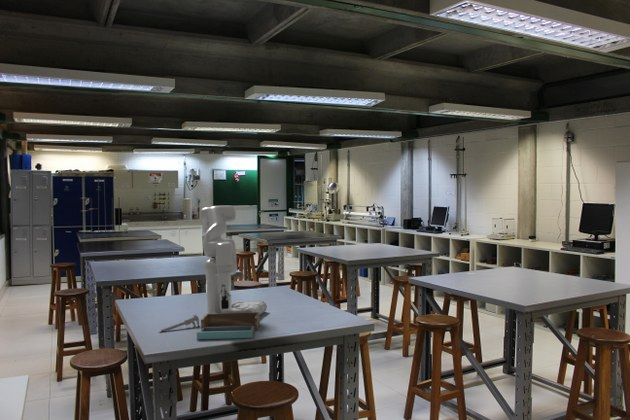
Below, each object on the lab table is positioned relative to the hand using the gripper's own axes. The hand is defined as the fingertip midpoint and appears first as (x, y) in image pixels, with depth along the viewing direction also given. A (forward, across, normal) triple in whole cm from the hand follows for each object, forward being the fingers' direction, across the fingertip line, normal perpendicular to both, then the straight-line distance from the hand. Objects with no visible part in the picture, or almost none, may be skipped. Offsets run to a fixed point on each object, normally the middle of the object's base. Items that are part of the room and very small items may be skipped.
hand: (225, 307), depth 235 cm
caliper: (+14, -14, -26) cm, 33 cm away
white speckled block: (+1, 0, 0) cm, 1 cm away
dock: (+13, -13, 0) cm, 19 cm away
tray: (+13, 0, 0) cm, 13 cm away
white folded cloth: (+14, -39, +4) cm, 41 cm away
